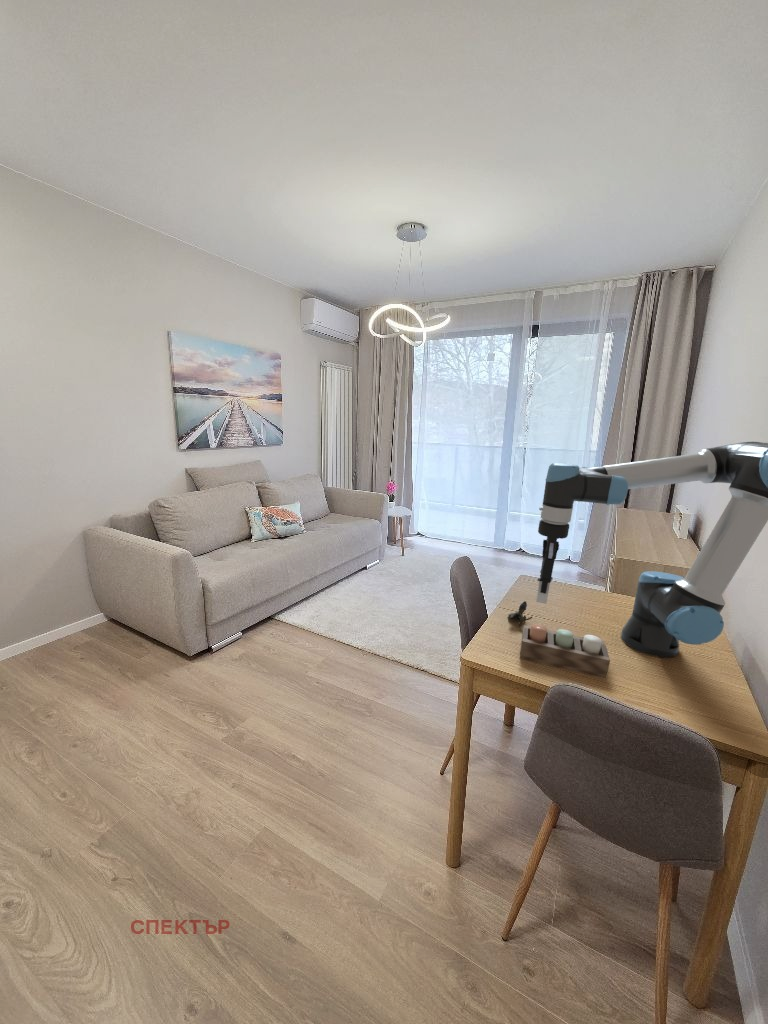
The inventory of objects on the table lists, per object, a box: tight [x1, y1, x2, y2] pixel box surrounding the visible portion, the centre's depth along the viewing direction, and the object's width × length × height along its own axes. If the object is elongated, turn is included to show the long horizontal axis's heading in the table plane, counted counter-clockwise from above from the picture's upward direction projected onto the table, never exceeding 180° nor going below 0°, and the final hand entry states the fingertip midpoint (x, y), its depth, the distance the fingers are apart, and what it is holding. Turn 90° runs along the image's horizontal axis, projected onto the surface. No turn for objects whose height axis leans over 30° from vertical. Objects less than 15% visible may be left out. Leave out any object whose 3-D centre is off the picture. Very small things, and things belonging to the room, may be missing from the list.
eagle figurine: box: [507, 600, 533, 628], centre depth 138 cm, size 8×7×9 cm
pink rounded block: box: [529, 623, 548, 643], centre depth 119 cm, size 4×4×5 cm
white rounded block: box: [582, 634, 603, 655], centre depth 114 cm, size 4×4×5 cm
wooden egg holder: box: [519, 624, 611, 680], centre depth 117 cm, size 22×10×6 cm, turn 69°
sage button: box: [555, 628, 575, 649], centre depth 116 cm, size 4×4×5 cm
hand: (541, 601), depth 116 cm, fingers closed
